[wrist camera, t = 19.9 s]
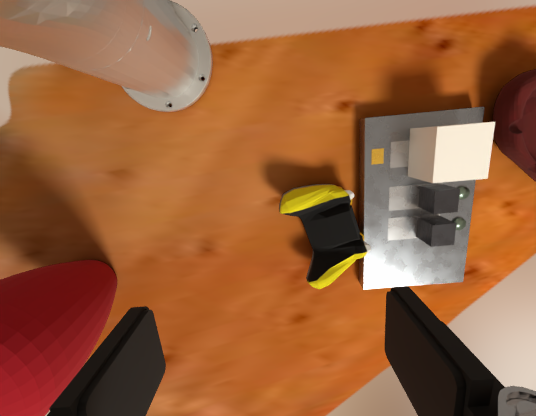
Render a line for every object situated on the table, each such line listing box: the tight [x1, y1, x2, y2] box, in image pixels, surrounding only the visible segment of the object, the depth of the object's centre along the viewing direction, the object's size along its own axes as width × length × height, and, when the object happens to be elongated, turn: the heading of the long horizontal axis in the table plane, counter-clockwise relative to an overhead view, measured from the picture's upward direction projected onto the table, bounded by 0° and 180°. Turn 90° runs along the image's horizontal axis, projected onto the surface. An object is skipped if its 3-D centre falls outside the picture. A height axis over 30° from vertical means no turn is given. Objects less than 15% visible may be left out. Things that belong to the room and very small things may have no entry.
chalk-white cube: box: [408, 122, 495, 183], centre depth 31 cm, size 6×6×6 cm
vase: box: [0, 260, 117, 416], centre depth 27 cm, size 15×15×30 cm
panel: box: [359, 107, 484, 289], centre depth 35 cm, size 25×15×6 cm, turn 5°
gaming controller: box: [279, 184, 371, 289], centre depth 36 cm, size 15×6×10 cm
